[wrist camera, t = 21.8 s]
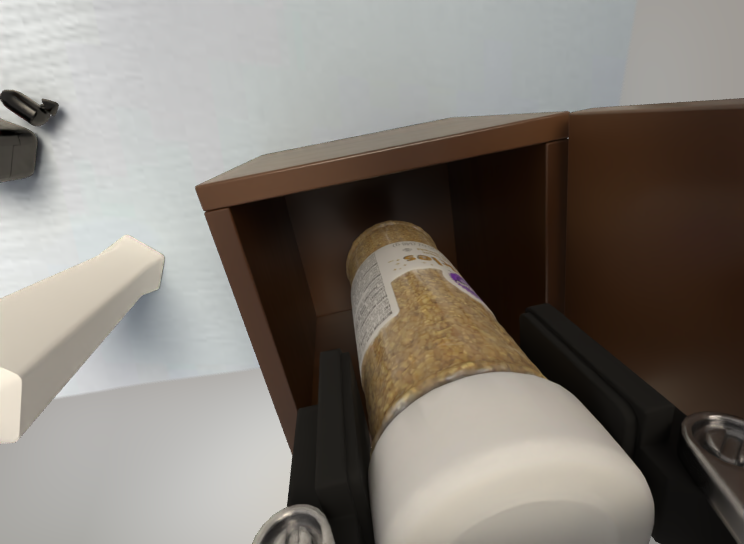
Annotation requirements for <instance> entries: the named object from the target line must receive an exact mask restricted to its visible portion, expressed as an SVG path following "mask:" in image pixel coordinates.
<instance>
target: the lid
mask: <svg viewBox="0 0 744 544" xmlns="http://www.w3.org/2000/svg"><path fill="white" fill-rule="evenodd" d="M564 316H565V317H567V318H568V319H569V320H570V321H572V322H573V323H574V324H575V325H577V326H578V327H579V328H580V329H581V330H583V331H584V332H585V333H586V334H588V335H589V336H590V337H591V338H592V339H594V340H595V341H596V342H597V343H599V344H600V345H601V346H602V347H604V348H605V349H606V350H607V351H608V352H610V353H611V354H612V355H613V356H615V357H616V358H617V359H618V360H620V361H621V362H622V363H623V364H624V365H626V366H627V367H628V368H629V369H631V370H632V371H633V372H634V373H635V374H637V375H638V376H639V377H640V378H642V379H643V380H644V381H645V382H647V383H648V384H649V385H650V386H651V387H653V388H654V389H655V390H656V391H658V392H659V393H660V394H661V395H663V396H664V397H665V398H666V399H667V400H669V401H670V402H671V403H672V404H674V405H675V406H676V407H677V408H678V409H679V410H680V411H682V412H683V413H684V414H685V415H687V416H688V415H690V414H692V413H696V412H702V411H713V412H722V413H727V414H731V415H735V416H738V417H741V418H743V419H744V98H739V99H725V100H709V101H692V102H677V103H661V104H647V105H630V106H614V107H599V108H590V109H585V110H580V111H575V112H572V113H570V115H569V144H568V185H567V226H566V267H565V307H564Z"/></svg>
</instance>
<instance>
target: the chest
mask: <svg viewBox="0 0 744 544" xmlns="http://www.w3.org/2000/svg"><path fill="white" fill-rule="evenodd" d="M569 115H570V112H568V111H562V112H544V113H525V114H507V115H489V116H471V117H452V118H446V119H441V120H436V121H431V122H426V123H421V124H416V125H411V126H406V127H401V128H396V129H391V130H386V131H381V132H376V133H371V134H366V135H361V136H356V137H351V138H346V139H341V140H336V141H330V142H325V143H320V144H315V145H310V146H305V147H300V148H295V149H290V150H285V151H280V152H275V153H270V154H265V155H261V156H259V157H257V158H255V159H253V160H250V161H248V162H246V163H244V164H242V165H240V166H238V167H235V168H233V169H231V170H229V171H227V172H225V173H222V174H220V175H218V176H216V177H214V178H212V179H210V180H207V181H205V182H203V183H201V184H199V185H197V186H195V189H196V192H197V195H198V198H199V200H200V203H201V206H202V209H203V210H204V211H206V212H205V214H204V215H205V217H206V220H207V223H208V226H209V228H210V231H211V234H212V236H213V239H214V242H215V245H216V247H217V250H218V253H219V256H220V258H221V261H222V264H223V267H224V269H225V272H226V275H227V278H228V280H229V283H230V286H231V289H232V291H233V294H234V297H235V300H236V302H237V305H238V308H239V310H240V313H241V316H242V319H243V321H244V324H245V327H246V330H247V332H248V335H249V338H250V341H251V343H252V346H253V349H254V352H255V354H256V357H257V360H258V363H259V365H260V368H261V371H262V373H263V376H264V379H265V382H266V384H267V387H268V390H269V393H270V395H271V398H272V401H273V404H274V406H275V409H276V412H277V415H278V417H279V420H280V423H281V426H282V428H283V431H284V434H285V436H286V439H287V442H288V445H289V448H290V449H291V452H292V456H293V447H294V437H295V428H296V419H297V412H298V410H299V408H303V407H308V406H312V405H317V404H318V388H319V361H320V352H324V351H328V350H333V349H338V348H340V349H341V351H342V353H345V352H349V353H350V357H351V361H352V365H353V369H354V373H355V377H356V381H357V385H358V389H359V393H360V397H361V401H362V406H363V410H364V414H365V418H366V422H367V426H368V431H369V436H370V443H371V446H372V438H371V435H370V430H369V421H368V413H367V408H366V398H365V393H364V391H363V387H362V383H361V376H360V368H359V360H358V352H357V344H356V337H355V329H354V321H353V312H352V304H351V285H350V281H349V279H348V277H347V273H346V261H347V256H348V253H349V251H350V249H351V246H352V244H353V242H354V241H355V240H356V239H357V238H358V237H359V236H360V234H362V233H363V232H364V231H365V230H367V229H368V228H370V227H372V226H374V225H375V224H378V223H381V222H385V221H389V220H390V221H405V222H409V223H412V224H414V225H416V226H419V227H420V228H422V229H423V230H424V231H425V232H426V233H427V234H429V236H430V237H431V238H432V240H433V241H434V243H435V245H436V247H437V249H438V250H439V252H441V253H442V254H443V255H444V256H445V257H446V258H447V259H448V260H449V261H450V263H451V264H452V265H453V266H454V267H455V269H456V270H457V271H458V272H459V274H460V275H461V276H462V277H463V279H464V280H465V281H466V282H467V283H468V285H469V286H470V287H471V288H472V289H473V290H474V292H475V293H476V294H477V295H478V296H479V297H480V299H481V300H482V301H483V302H484V303H485V304H486V306H487V307H488V308H489V309H490V310H491V311H492V313H493V314H494V316H495V318H496V320H497V321H498V323H499V324H500V325H501V326H502V327H503V328H504V329H505V331H506V332H507V333H508V334H509V335H510V336H511V337H512V338H513V340H514V341H515V343H516V344H517V345H518V346H519V347H520V326H519V317H520V315H521V314H524V313H525V309H526V308H527V307H531V306H535V305H540V304H545V303H549V304H551V305H552V306H553V307H554V308H556V309H557V310H558V311H559V312H561V313H562V314H563V315H564V307H565V267H566V226H567V185H568V144H569V139H567V138H568V137H569Z"/></svg>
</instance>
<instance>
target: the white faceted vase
mask: <svg viewBox="0 0 744 544" xmlns="http://www.w3.org/2000/svg"><path fill="white" fill-rule="evenodd" d="M163 265H164V256H163V255H162V254H161V253H159V252H157V251H155V250H154V249H152V248H150V247H149V246H147V245H145V244H143V243H142V242H140V241H138V240H136V239H135V238H133V237H131V236H129V235H124V236H123V237H121V238H120V239H119V240H117V241H116V242H115V243H113V244H112V245H111V246H110V247H108V248H107V249H106V250H104V251H103V252H102V253H100V254H99V256H96V257H94V258H92V259H89V260H87V261H85V262H83V263H80V264H78V265H76V266H73V267H71V268H69V269H67V270H64V271H62V272H60V273H57V274H55V275H53V276H51V277H48V278H46V279H44V280H41V281H39V282H37V283H35V284H32V285H30V286H28V287H26V288H23V289H21V290H19V291H16V292H14V293H12V294H10V295H7V296H5V297H3V298H0V444H1V443H13V442H16V441H18V440H19V439H20V437H21V436H22V435H23V434H24V433H25V432H26V430H27V429H28V428H29V427H30V426H31V425H32V423H33V422H34V421H35V420H36V419H37V417H38V416H39V415H40V414H41V413H42V412H43V411H44V409H45V408H46V407H47V406H48V405H49V404H50V402H51V401H52V400H53V399H54V398H55V397H56V395H57V394H58V393H59V392H60V391H61V389H62V388H63V387H64V386H65V385H66V384H67V382H68V381H69V380H70V379H71V378H72V377H73V375H74V374H75V373H76V372H77V371H78V370H79V368H80V367H81V366H82V365H83V364H84V363H85V361H86V360H87V359H88V358H89V357H90V356H91V354H92V353H93V352H94V351H95V350H96V349H97V347H98V346H99V345H100V344H101V343H102V342H103V340H104V339H105V338H106V337H107V336H108V335H109V333H110V332H111V331H112V330H113V329H114V328H115V326H116V325H117V324H118V323H119V322H120V321H121V319H122V318H123V317H124V316H125V315H126V314H127V312H128V311H129V310H130V309H131V308H132V307H133V305H134V304H135V303H136V302H137V301H138V300H139V298H140V297H141V296H142V295H144V294H147V293H150V292H153V291H156V290H158V289H159V287H160V282H161V276H162V271H163Z"/></svg>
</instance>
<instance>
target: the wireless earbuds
mask: <svg viewBox="0 0 744 544" xmlns="http://www.w3.org/2000/svg"><path fill="white" fill-rule="evenodd" d="M0 100H1V101H2V103H3V104H4V106H5V107H6V108H8V109H9V110H10V111H12V112H13V113H15V114H17V115H18V116H20V117H21V118H23V119H24V120H26V121H27V122H29V123H30V124H32V125H34V126H42V125H44V124H45V123H46V122H47V121H48V120H49V118H50V115H52V116H55V115H56V113H57V110H58V106H59V105H58V103H56V102H54V101H50V100H47V99H42V103H43V104H41V105H39V104H38V103H36V102H35V101H33V100H32V99H30V98H29V97H27V96H26V95H24V94H22V93H21V92H18V91H15V90H4V91H2V93H1V94H0ZM37 144H38V141H37V137H36V136H35V134H34V133H33V132H32V131H30V130H28V129H27V128H24V127H22V126H19V125H16V124H13V123H11V122H8V121H5V120H2V119H0V183H1V182H6V181H12V180H18V179H23V178H27V177H29V176H31V175H32V174H33V172H34V170H35V162H36V153H37Z"/></svg>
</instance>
